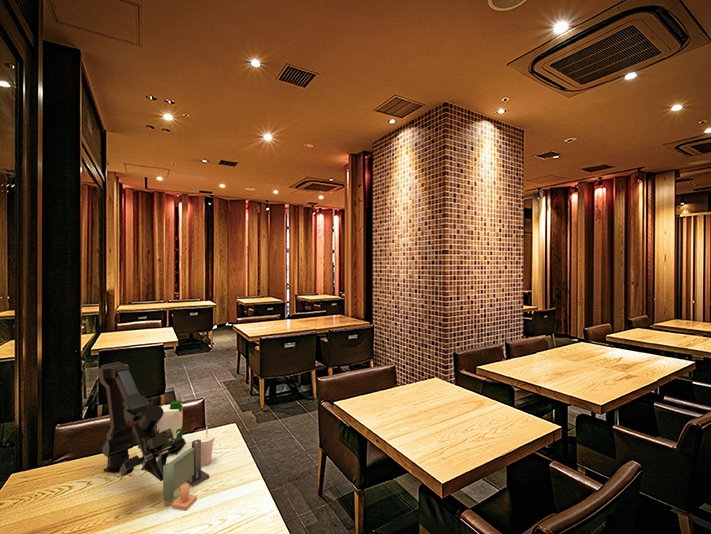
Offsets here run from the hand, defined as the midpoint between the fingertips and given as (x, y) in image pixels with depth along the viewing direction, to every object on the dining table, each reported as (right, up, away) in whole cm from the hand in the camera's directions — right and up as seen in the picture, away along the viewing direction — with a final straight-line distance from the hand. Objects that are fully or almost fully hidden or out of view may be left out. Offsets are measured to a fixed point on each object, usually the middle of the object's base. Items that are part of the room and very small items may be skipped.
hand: (163, 480), depth 111 cm
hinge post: (+5, -7, +12) cm, 15 cm away
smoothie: (+4, -8, +23) cm, 24 cm away
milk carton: (-15, -8, +32) cm, 36 cm away
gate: (+3, -6, +4) cm, 8 cm away
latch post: (+7, -7, -1) cm, 10 cm away
